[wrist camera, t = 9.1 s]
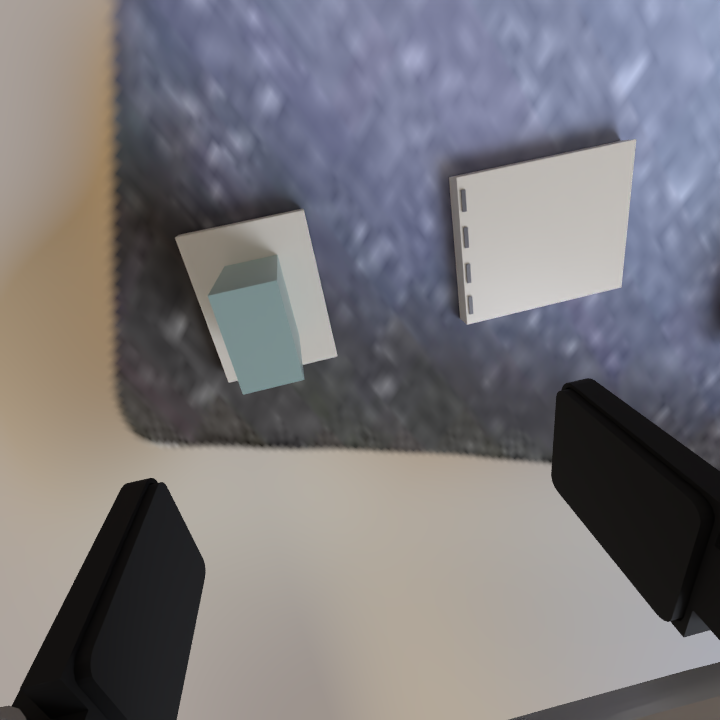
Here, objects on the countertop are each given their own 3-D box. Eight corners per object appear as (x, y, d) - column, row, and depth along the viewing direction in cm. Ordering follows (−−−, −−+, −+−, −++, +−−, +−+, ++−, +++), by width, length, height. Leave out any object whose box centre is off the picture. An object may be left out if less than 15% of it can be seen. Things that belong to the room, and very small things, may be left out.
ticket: (448, 177, 24) (457, 177, 23) (621, 140, 25) (637, 139, 24) (460, 318, 28) (468, 325, 27) (608, 282, 29) (622, 287, 28)
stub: (179, 234, 23) (141, 259, 17) (302, 208, 24) (311, 223, 17) (230, 374, 27) (215, 438, 21) (335, 349, 28) (351, 403, 21)
